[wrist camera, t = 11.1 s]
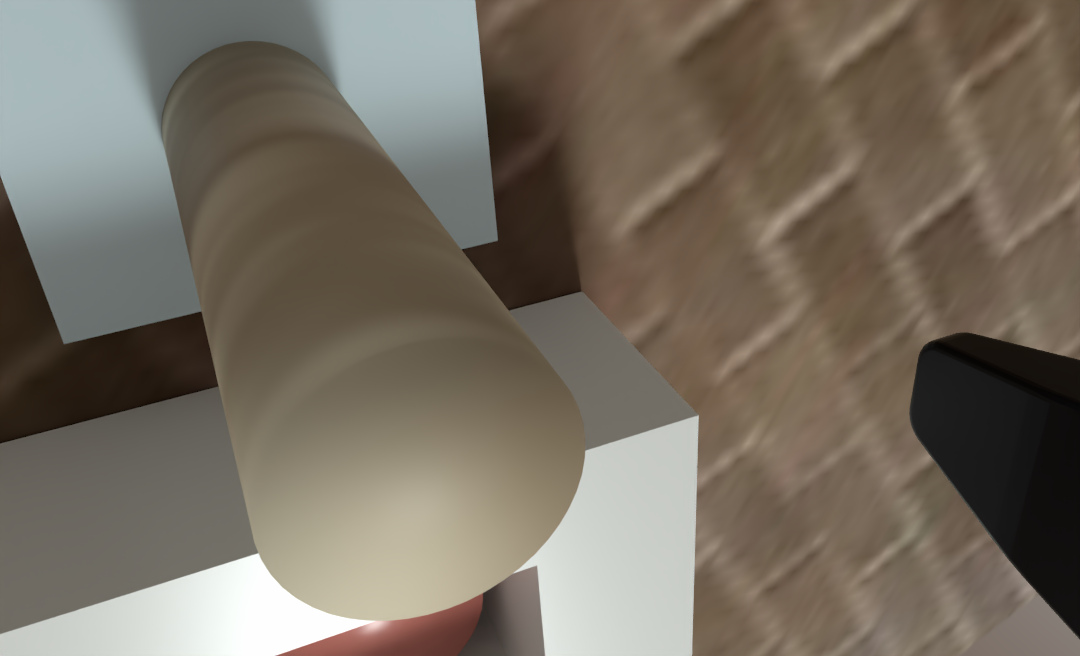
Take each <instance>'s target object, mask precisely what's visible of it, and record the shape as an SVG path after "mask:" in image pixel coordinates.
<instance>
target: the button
mask: <svg viewBox="0 0 1080 656" xmlns="http://www.w3.org/2000/svg"><path fill="white" fill-rule="evenodd" d="M482 604H483V593H482V594H480V595H478V596H476V597H474V598H472V599H470V600H468V601H466V602H463V603H461V604H458V605H456V606H453V607H451V608H449V609H445V610H442V611H439V612H435V613H432V614H429V615H424V616H419V617H414V618H409V619H401V620H391V621H374V622H371V623H369V624H366V625H363V626H360V627H357V628H354V629H351V630H348V631H345V632H343V633H340V634H337V635H334V636H331V637H328V638H325V639H322V640H319V641H316V642H314V643H311V644H308V645H305V646H302V647H299V648H296V649H293V650H290V651H288V652H285V653H282V654H279V655H276V656H457V655H458V654H459V653H460V652H461V650H462V649H463V648H464V646H465V645H466V644H467V642H468V641H469V639H470V637H471V636H472V634H473V632H474V630H475V628H476V626H477V623H478V621H479V618H480V614H481V611H482Z"/></svg>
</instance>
